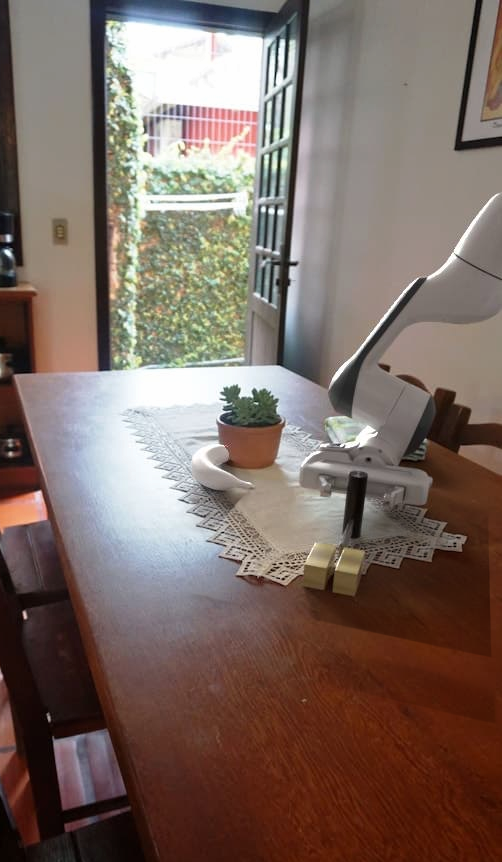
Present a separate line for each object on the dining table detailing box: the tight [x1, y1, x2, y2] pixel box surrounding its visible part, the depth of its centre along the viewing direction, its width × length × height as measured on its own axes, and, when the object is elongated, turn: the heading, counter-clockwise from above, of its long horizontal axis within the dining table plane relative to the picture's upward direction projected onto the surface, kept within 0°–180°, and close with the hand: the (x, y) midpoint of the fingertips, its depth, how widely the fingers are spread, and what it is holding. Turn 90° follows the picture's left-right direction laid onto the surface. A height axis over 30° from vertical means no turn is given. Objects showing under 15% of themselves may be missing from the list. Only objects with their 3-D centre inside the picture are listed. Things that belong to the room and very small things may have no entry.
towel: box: [324, 415, 430, 462], centre depth 147 cm, size 18×21×5 cm
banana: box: [189, 444, 255, 491], centre depth 129 cm, size 5×19×15 cm
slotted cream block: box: [302, 541, 366, 597], centre depth 97 cm, size 23×11×4 cm, turn 160°
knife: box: [337, 471, 368, 563], centre depth 99 cm, size 12×3×10 cm, turn 160°
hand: (356, 497), depth 102 cm, fingers open, 8 cm apart
